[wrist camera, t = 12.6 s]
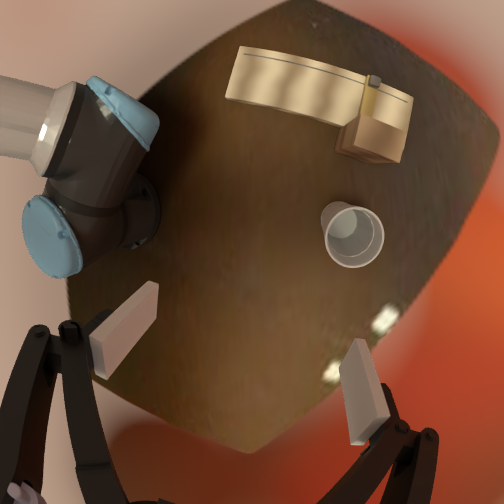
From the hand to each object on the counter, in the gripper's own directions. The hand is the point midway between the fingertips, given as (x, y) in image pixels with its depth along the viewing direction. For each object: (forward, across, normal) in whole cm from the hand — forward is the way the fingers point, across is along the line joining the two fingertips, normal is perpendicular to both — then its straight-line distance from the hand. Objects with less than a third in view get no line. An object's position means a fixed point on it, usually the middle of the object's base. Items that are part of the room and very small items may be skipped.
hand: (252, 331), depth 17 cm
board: (+31, +2, +24) cm, 39 cm away
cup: (+31, +10, +4) cm, 33 cm away
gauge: (+31, +9, +22) cm, 39 cm away
